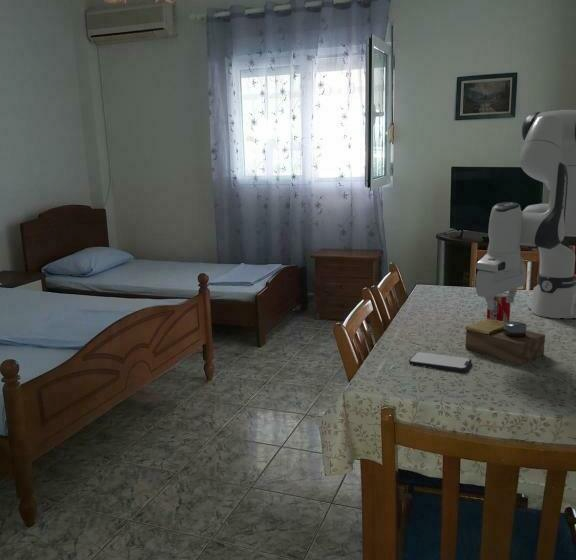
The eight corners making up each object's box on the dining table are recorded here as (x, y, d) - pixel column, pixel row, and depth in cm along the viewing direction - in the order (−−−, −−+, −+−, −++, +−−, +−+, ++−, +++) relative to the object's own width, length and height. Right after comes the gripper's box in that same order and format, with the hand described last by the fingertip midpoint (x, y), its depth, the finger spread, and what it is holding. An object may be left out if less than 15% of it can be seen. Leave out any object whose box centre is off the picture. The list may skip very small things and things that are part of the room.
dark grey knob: (509, 347, 170) (511, 320, 168) (528, 352, 165) (530, 324, 163) (498, 352, 166) (499, 324, 165) (517, 357, 162) (519, 329, 160)
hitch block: (488, 339, 179) (489, 321, 177) (543, 354, 165) (545, 334, 163) (465, 348, 172) (466, 329, 170) (520, 364, 158) (522, 344, 156)
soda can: (510, 333, 184) (512, 297, 182) (487, 332, 186) (489, 296, 183) (506, 326, 191) (509, 291, 188) (484, 325, 192) (486, 291, 190)
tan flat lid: (488, 320, 178) (488, 318, 178) (512, 325, 171) (512, 323, 171) (465, 329, 171) (465, 326, 170) (488, 334, 164) (488, 331, 164)
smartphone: (407, 366, 161) (465, 374, 153) (407, 361, 160) (465, 369, 153) (416, 356, 168) (472, 363, 161) (416, 351, 168) (472, 358, 160)
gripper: (513, 252, 172) (510, 296, 176) (472, 264, 160) (470, 310, 164) (533, 255, 167) (530, 301, 171) (492, 267, 155) (490, 315, 159)
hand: (500, 306), depth 167 cm, fingers open, 8 cm apart
